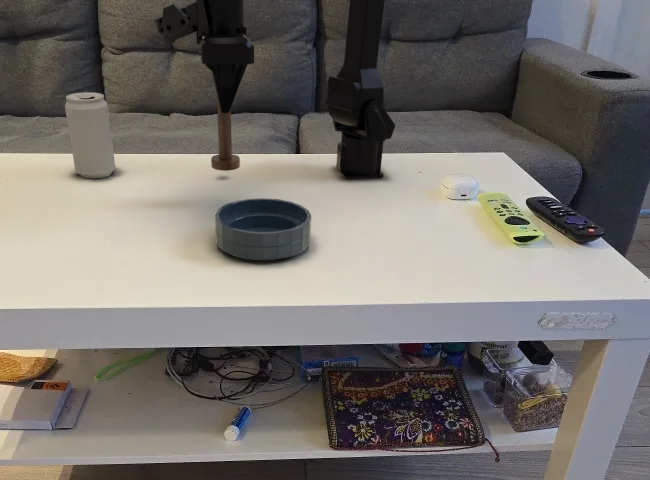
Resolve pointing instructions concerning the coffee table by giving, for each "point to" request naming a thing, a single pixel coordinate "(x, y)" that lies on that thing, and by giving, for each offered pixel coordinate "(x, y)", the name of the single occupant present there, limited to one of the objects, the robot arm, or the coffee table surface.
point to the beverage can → (90, 134)
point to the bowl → (262, 228)
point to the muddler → (224, 144)
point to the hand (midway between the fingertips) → (224, 110)
